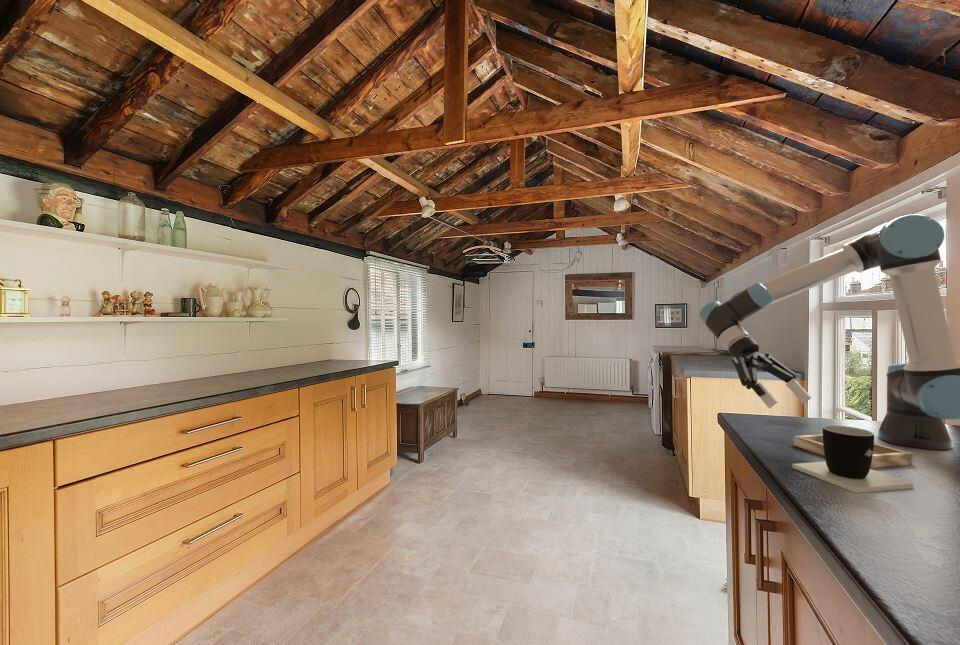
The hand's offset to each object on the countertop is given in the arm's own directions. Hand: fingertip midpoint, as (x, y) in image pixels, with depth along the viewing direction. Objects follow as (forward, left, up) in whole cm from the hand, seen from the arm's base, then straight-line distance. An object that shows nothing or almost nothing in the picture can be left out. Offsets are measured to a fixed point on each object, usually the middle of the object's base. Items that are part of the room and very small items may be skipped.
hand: (790, 402), depth 115 cm
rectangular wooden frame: (-15, +3, -14) cm, 21 cm away
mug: (+1, +17, -13) cm, 21 cm away
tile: (+1, +17, -14) cm, 22 cm away
